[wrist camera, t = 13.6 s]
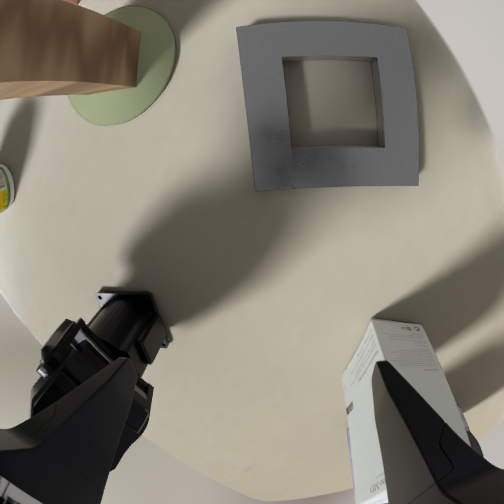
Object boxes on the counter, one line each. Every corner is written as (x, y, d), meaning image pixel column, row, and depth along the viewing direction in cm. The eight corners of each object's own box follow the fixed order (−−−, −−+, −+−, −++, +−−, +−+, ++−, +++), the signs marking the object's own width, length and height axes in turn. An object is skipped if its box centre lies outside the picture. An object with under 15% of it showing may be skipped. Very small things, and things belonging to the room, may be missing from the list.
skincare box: (370, 316, 23) (411, 475, 10) (424, 322, 23) (480, 458, 10) (339, 377, 27) (350, 511, 14) (389, 380, 27) (413, 501, 13)
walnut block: (136, 87, 17) (-17, 84, 5) (88, 94, 17) (-55, 110, 5) (141, 32, 15) (4, -15, 3) (93, 43, 15) (-42, 26, 4)
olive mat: (75, 138, 19) (72, 139, 19) (67, 36, 15) (64, 35, 15) (182, 108, 18) (180, 108, 17) (171, -9, 13) (169, -11, 13)
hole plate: (257, 186, 20) (255, 191, 18) (239, 33, 15) (236, 27, 14) (410, 181, 18) (418, 185, 17) (398, 33, 13) (406, 28, 12)
